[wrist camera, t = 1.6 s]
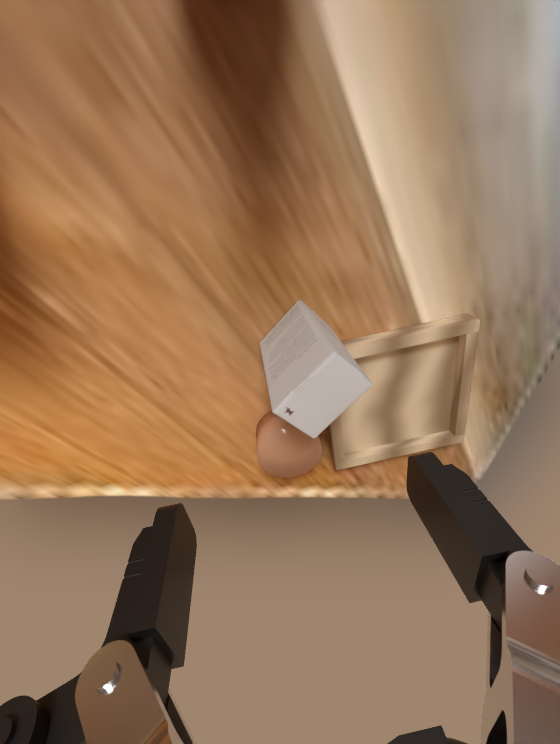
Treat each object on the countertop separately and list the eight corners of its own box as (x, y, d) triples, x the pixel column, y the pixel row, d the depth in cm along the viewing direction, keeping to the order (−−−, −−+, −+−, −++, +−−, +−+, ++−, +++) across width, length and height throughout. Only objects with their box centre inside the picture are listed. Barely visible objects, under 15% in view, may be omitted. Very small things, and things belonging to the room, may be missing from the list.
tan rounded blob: (310, 400, 36) (318, 422, 33) (318, 445, 40) (325, 469, 36) (249, 413, 36) (251, 436, 33) (262, 458, 40) (265, 483, 36)
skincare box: (289, 366, 34) (313, 442, 23) (258, 342, 32) (268, 413, 22) (330, 323, 32) (376, 385, 21) (300, 296, 30) (333, 349, 20)
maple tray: (467, 313, 33) (480, 320, 31) (453, 431, 41) (463, 441, 39) (316, 346, 33) (321, 355, 31) (332, 458, 41) (336, 470, 39)
